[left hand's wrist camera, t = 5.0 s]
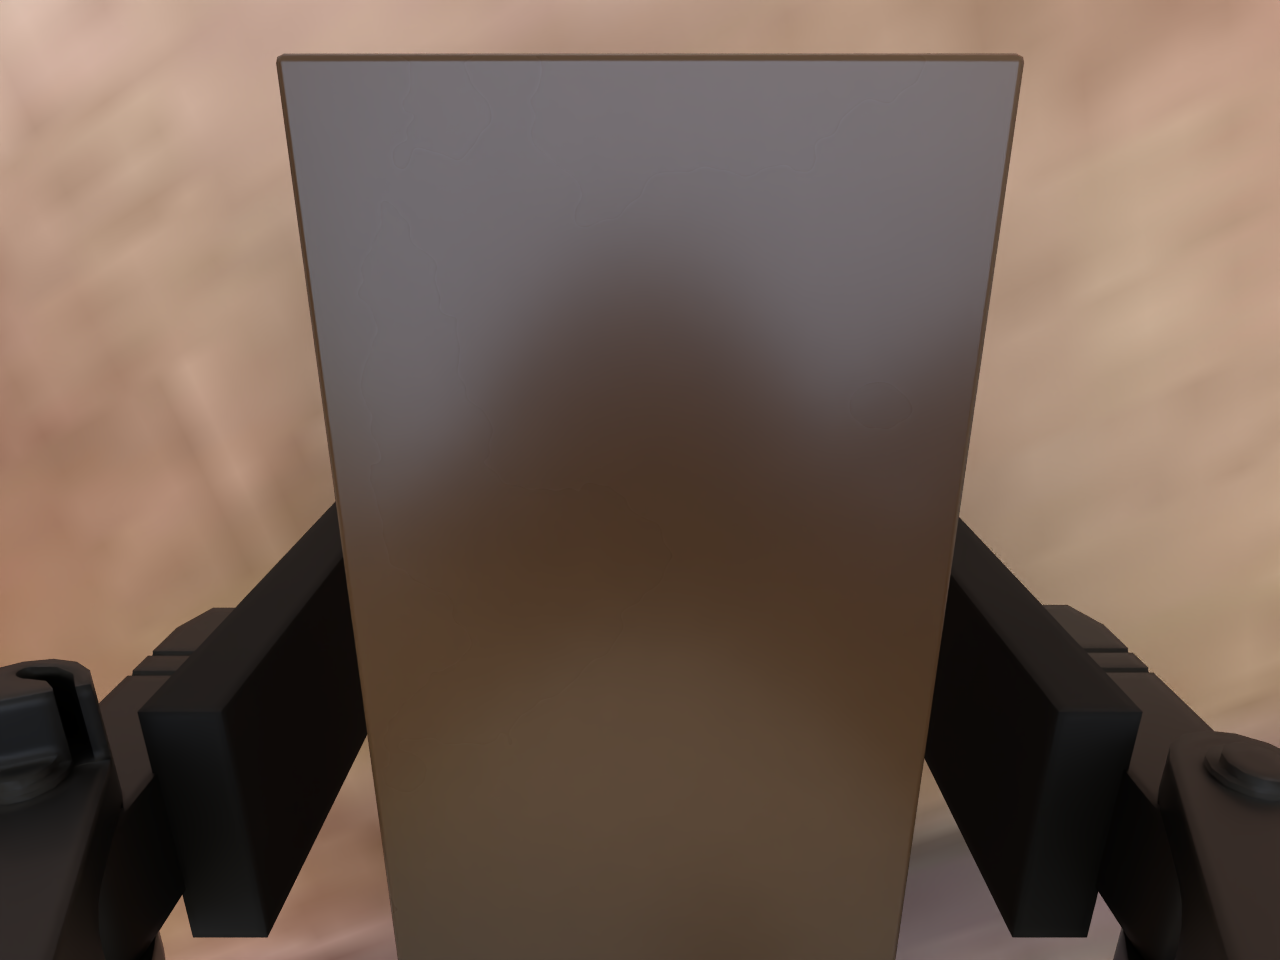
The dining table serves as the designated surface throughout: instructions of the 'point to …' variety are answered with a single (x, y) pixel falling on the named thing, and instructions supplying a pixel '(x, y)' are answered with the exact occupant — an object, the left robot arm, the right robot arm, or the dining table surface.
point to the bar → (648, 476)
